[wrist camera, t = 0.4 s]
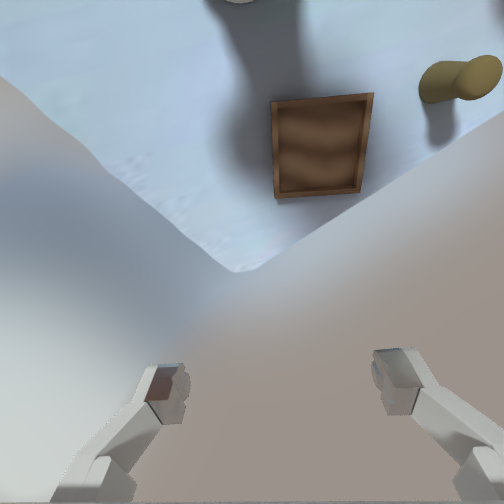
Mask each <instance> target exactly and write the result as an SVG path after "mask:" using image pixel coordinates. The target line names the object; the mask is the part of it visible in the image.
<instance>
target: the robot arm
mask: <svg viewBox="0 0 504 504" xmlns="http://www.w3.org/2000/svg"><path fill="white" fill-rule="evenodd" d="M226 1H229V2H233V3H247V2H251V1H253V0H226ZM373 357H374V361H373V362H372V365H371V369H372V376H373V379H374V382H375V385H376V387H377V388H379V389H380V390H381V391H382V393H381V400H382V402H383V405H384V407H385V410H386V412H387V415H411V417H412V418H413V419H414V420H415V421H416V422H417V423H418V424H419V425H420V426H421V427H422V428H423V429H424V430H425V431H426V432H427V433H428V434H429V435H430V436H431V437H432V438H433V439H434V440H435V441H436V442H437V443H438V444H439V445H440V446H441V447H442V448H443V449H444V450H445V451H446V452H447V453H448V454H449V455H450V456H451V457H452V458H453V459H454V460H455V461H456V462H457V463H458V464H459V465H460V466H461V467H460V469H459V470H458V472H457V473H456V475H455V476H454V478H453V481H452V482H453V484H454V486H455V488H456V490H457V492H458V494H459V496H460V498H461V500H462V501H305V502H304V501H295V502H293V501H292V502H291V501H289V502H287V501H285V502H132V500H133V497H134V493H135V490H136V487H137V484H136V481H135V480H134V479H133V478H132V477H131V476H129V474H128V473H129V471H130V470H131V469H132V467H133V466H134V464H135V463H136V462H137V461H138V459H139V458H140V456H141V455H142V454H143V452H144V451H145V450H146V448H147V447H148V445H149V444H150V443H151V441H152V440H153V439H154V437H155V436H156V435H157V433H158V432H159V431H160V429H161V428H162V425H167V424H181V423H182V420H183V416H184V412H185V408H186V406H185V404H184V401H185V400H186V398H187V397H188V396H189V392H190V377H189V375H188V373H186V372H184V370H185V366H184V364H183V363H176V364H154V365H149V366H148V367H147V368H146V370H145V372H144V374H143V376H142V379H141V381H140V383H139V386H138V388H137V390H136V392H135V395H134V397H133V400H132V402H131V403H127V404H126V405H125V406H124V407H123V408H122V409H121V410H120V411H119V412H118V413H117V414H116V415H115V416H114V417H113V418H112V419H111V420H110V421H109V422H108V423H107V424H106V425H105V426H104V427H103V428H102V429H101V430H100V431H99V432H98V433H97V434H96V435H95V436H94V437H93V438H91V440H90V441H88V442H87V444H85V446H83V447H82V448H81V449H80V450H79V451H78V452H77V453H76V454H75V455H74V457H73V458H72V461H71V462H70V464H69V466H68V468H67V470H66V472H65V474H64V476H63V477H62V479H61V481H60V483H59V485H58V487H57V489H56V491H55V493H54V495H53V496H52V498H51V500H50V502H49V503H0V504H504V429H503V428H501V427H500V426H499V425H497V424H496V423H494V422H493V421H491V420H490V419H489V418H487V417H486V416H484V415H483V414H482V413H480V412H479V411H477V410H476V409H475V408H473V407H472V406H470V405H469V404H468V403H466V402H465V401H464V400H462V399H461V398H459V397H458V396H457V395H455V394H454V393H452V392H451V391H450V390H448V389H447V388H445V387H440V386H439V384H438V383H437V381H436V380H435V378H434V376H433V374H432V373H431V371H430V370H429V368H428V366H427V365H426V363H425V362H424V360H423V359H422V357H421V355H420V354H419V352H418V351H417V349H415V348H413V347H410V348H393V349H382V350H374V352H373Z"/></svg>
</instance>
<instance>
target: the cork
mask: <svg viewBox="0 0 504 504" xmlns="http://www.w3.org/2000/svg"><path fill="white" fill-rule="evenodd" d="M502 70H503V67H502V64H501V61H500V60H499V59H498V58H497V57H495V56H491V55H484V56H479V57H477V58H474V59H472V60H471V61H469V62H461V61H440V62H437V63H435V64H433V65H432V66H431V67H429V68H428V69H427V70H426V72H425V73H424V74H423V76H422V78H421V80H420V83H419V95H420V97H421V99H422V100H423V101H424V102H427V103H437V102H441V101H445V100H450V99H454V98H458V97H459V98H460V99H463V100H476V99H479V98H481V97H484V96H485V95H487V94H488V93H489V92H491V91H492V90H493V88H494V87H495V86H496V85H497V84H498V82H499V80H500V78H501V75H502Z"/></svg>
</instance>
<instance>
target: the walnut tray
mask: <svg viewBox="0 0 504 504" xmlns="http://www.w3.org/2000/svg"><path fill="white" fill-rule="evenodd" d="M373 98H374V92H373V93H362V94H351V95H341V96H330V97H320V98H309V99H299V100H288V101H278V102H271V123H272V150H273V176H274V197H275V199H277V198H292V197H307V196H322V195H337V194H351V193H360V190H361V183H362V176H363V169H364V162H365V155H366V148H367V141H368V134H369V127H370V120H371V113H372V105H373Z"/></svg>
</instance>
